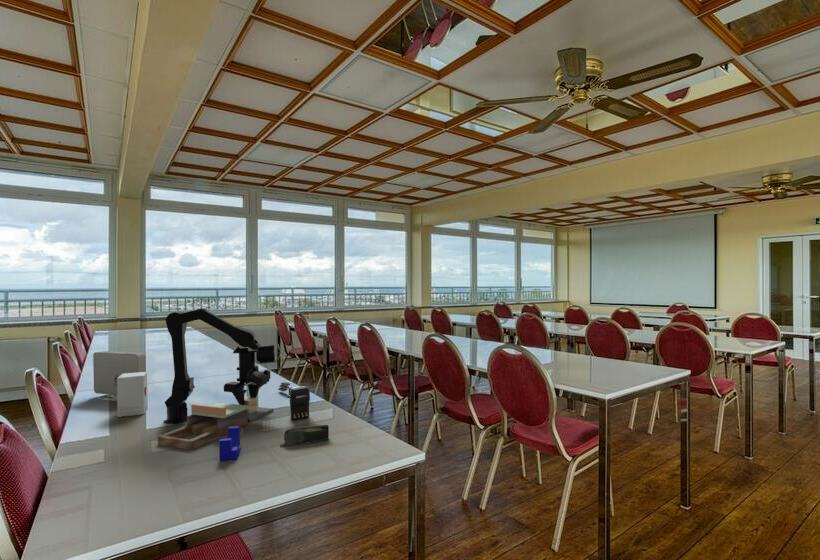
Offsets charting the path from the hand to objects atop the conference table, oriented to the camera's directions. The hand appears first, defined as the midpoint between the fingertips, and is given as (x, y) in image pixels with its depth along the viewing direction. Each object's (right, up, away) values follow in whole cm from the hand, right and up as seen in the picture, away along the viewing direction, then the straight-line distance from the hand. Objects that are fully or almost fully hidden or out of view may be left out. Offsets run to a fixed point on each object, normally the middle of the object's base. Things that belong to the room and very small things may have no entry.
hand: (247, 405), depth 168 cm
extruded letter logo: (+11, -4, +24) cm, 27 cm away
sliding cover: (-4, +2, -14) cm, 15 cm away
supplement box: (-46, -5, +5) cm, 47 cm away
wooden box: (-7, -4, -20) cm, 22 cm away
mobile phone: (+28, -4, -29) cm, 41 cm away
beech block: (0, -3, 0) cm, 3 cm away
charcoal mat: (0, -4, 0) cm, 4 cm away
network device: (-66, -5, +28) cm, 72 cm away
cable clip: (+9, -4, -37) cm, 38 cm away
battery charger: (+21, -3, -6) cm, 22 cm away
